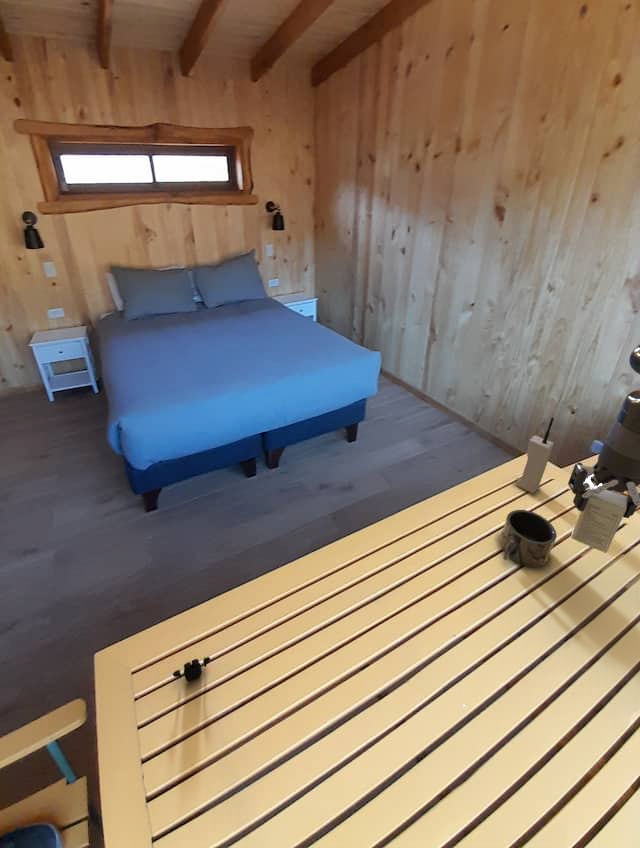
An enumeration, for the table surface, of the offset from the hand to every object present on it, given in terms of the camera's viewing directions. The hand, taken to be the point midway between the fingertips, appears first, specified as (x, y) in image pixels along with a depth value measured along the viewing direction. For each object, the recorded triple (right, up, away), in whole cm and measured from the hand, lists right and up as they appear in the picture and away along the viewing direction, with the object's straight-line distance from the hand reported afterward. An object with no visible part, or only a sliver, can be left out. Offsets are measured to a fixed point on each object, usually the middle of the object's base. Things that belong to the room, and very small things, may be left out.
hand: (600, 511), depth 80 cm
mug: (-5, -17, +19) cm, 26 cm away
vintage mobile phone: (+9, -7, +39) cm, 41 cm away
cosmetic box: (0, -7, +4) cm, 8 cm away
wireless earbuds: (-81, -31, -4) cm, 87 cm away
